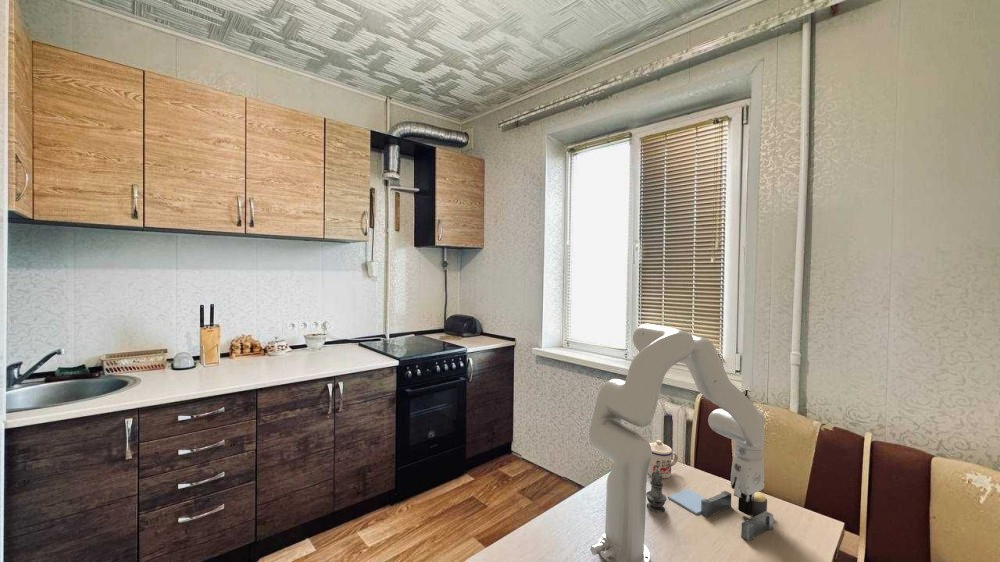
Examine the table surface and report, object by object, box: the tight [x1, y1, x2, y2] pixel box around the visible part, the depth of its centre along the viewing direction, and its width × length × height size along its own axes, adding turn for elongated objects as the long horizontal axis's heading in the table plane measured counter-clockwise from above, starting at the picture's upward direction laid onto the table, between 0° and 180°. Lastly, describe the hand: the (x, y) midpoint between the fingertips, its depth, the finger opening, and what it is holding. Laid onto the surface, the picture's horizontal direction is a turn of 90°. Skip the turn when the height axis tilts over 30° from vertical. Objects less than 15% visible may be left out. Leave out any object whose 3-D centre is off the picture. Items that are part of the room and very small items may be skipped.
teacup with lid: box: [648, 439, 679, 479], centre depth 143 cm, size 12×9×12 cm
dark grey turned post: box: [646, 469, 668, 514], centre depth 121 cm, size 6×6×12 cm
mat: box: [667, 488, 707, 516], centre depth 125 cm, size 10×10×1 cm
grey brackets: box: [700, 490, 774, 542], centre depth 116 cm, size 12×14×4 cm
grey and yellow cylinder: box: [750, 491, 768, 517], centre depth 121 cm, size 6×6×5 cm
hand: (745, 512), depth 118 cm, fingers closed
